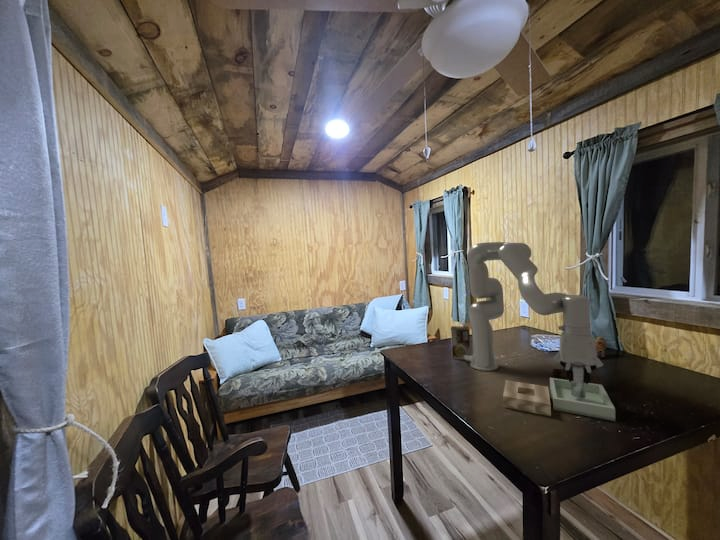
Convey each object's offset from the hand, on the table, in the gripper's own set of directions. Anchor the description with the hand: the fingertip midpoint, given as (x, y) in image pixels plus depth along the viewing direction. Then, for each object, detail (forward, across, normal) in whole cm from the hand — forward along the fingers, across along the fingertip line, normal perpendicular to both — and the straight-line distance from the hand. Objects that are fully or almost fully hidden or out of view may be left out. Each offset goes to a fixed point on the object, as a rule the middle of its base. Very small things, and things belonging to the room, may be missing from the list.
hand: (577, 380), depth 99 cm
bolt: (+8, +1, +19) cm, 21 cm away
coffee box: (+8, -46, +30) cm, 55 cm away
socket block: (+8, -16, -7) cm, 19 cm away
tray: (+8, 0, 0) cm, 8 cm away
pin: (+5, 0, 0) cm, 5 cm away
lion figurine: (+8, +13, +55) cm, 57 cm away
